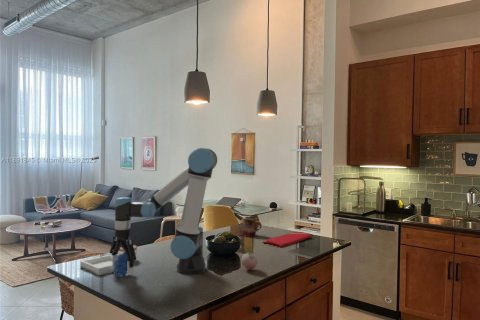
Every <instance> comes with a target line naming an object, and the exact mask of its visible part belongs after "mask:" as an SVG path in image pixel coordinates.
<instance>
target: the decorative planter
mask: <svg viewBox="0 0 480 320" xmlns="http://www.w3.org/2000/svg"><path fill="white" fill-rule="evenodd" d="M239 225H240V227H241V230H242V232H241V233H242V234H241V235H242V236H243V235H246V236H245V237H247V236H251V237H254V236H253V235H255V236H256V234H257V232H258V231H260V230H261V229H262V223H261V221H260V220H259V221H258V218H257V217H255V216H243V217H242V218H241V220H240V224H239Z"/></svg>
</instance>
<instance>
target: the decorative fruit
mask: <svg viewBox="0 0 480 320" xmlns="http://www.w3.org/2000/svg"><path fill="white" fill-rule="evenodd" d="M240 261H241V265H242V266H243V267H244V268H245V269H247V270H249V271H251V270H253V269H254V268H256V267H257V265H258V261H259V258H258V257H257V256H256V255H255V254H254V253H252V252H251V251H247V252H246V253H244V254H243V255H242V257H241V260H240Z"/></svg>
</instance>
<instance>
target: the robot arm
mask: <svg viewBox="0 0 480 320" xmlns="http://www.w3.org/2000/svg"><path fill="white" fill-rule="evenodd" d="M187 164H188V166H187V167H186V168H184V169H183V170H182V171H181V172H180V173H178V174H177V175H176V176H175V177H174V178H172V179H171V180H170V181H169V182H168V183H166V184H165V185H164V186H163V187H161V188H160V189H159V190H157V192H156V193H154V194H153V195H151V197H150V198H148V199H146V200H143V201H132V199H131V197H129V196H128V197H127V196H124V197H117V198H116V199H115V200H114V201H115V203H114V214H115V215H114V236H113V237H112V243H111V245H110V250H109V254H110V255H112V269H114V268H115V266H114V262H115V261H116V260H118V251H119V249H120V248H121V247H122V248H123V249H124V250H125V253H126V255H127V258H128V261H127V274H126V275H131V274H134V261H136V260H137V254H136V255H135V251H134V247H133V245H134V243H133V242H134V241H133V239H129V238H130V236H131V233H132V232H131V231H132V230H131V223H132V221H131V218H144V219H145V218H153V217H154V216H155V214H156V212H158V211H160V209H161V208H162V207H164V205H165V204H167V203H168V202H170V201H171V200H172V199H173V198H174V197H175V196H176V195H177V194H178V195H179V193H180V192H182V190H184V189H185V188H186V187H187V190H186V195H185V200H184V206H183V210H182V216H181V219H180V225H178V226H176V228H175V234H174V238H173V239H172V241H171V243H170V250H171V251H170V252H171V253H172V254H173V256H174V257H176V258H177V259H179V260H178V263H177V264H176V265H177V266H176V272H178V273H179V274H183V275H195V274H196V275H197V274H202V273H203V272H204V273H205V271H206V270H207V265H206V264H207V263H205V258H204V252H203V249H204V242H203V241H204V229H203V227H202V226H199V222H200V218H201V213H202V208H203V204H204V198H205V195H206V188H207V184H208V181H209V180H210V179H211V178H212V175H213V170H214V169H215V168H216V166H217V164H218V156H217V153H216V152H215V151H213V150H212V149H211V148H206V147H198V148H196V149H194V150H193V151H191V152H190V154H189V155H188V157H187Z"/></svg>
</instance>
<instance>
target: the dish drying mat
mask: <svg viewBox="0 0 480 320" xmlns="http://www.w3.org/2000/svg"><path fill="white" fill-rule="evenodd" d="M311 237H313V234H311V233H309V232H302V231H293V232H291V233H290V232H289V233H286V234H283V235H277V236H275V237H271V238H269V239H266V240H265V241H263V242H261V243H262V244H263V243H264V244H263V245H265V244H269V245H268V246H270V245H273V246H272V247H274V246H277V247H276V248H279V247H280V248H283V246H284V247H286V245H287V246H290V245H293V244H296V243H299V242H301V241H304V240H306V239H309V238H311Z"/></svg>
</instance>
